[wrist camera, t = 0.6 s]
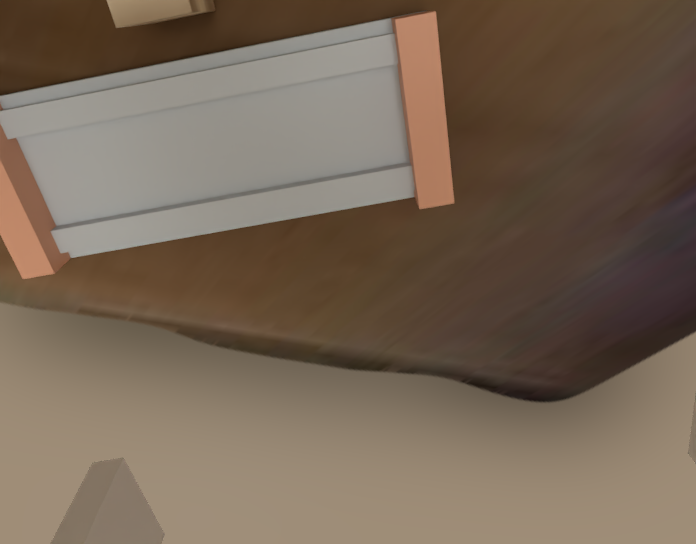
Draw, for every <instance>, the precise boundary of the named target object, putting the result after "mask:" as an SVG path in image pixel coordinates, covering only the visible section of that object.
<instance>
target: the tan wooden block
mask: <svg viewBox="0 0 696 544" xmlns="http://www.w3.org/2000/svg"><path fill="white" fill-rule="evenodd" d="M107 3H108V6H109V9H110V11H111V14H112V17H113V20H114V23H115V26H116V28H121V27H130V26H139V25H147V24H154V23H159V22H164V21H169V20H174V19H178V18H183V17H188V16H193V15H198V14H203V13H208V12H213V11H216V9H215V6H214V2H213V0H107Z"/></svg>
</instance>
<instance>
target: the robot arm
mask: <svg viewBox="0 0 696 544" xmlns="http://www.w3.org/2000/svg"><path fill="white" fill-rule="evenodd" d="M688 454H689V455H690V457H691V458H692V459H693V461H694V462H695V463H696V396H695V403H694V411H693V419H692V426H691V434H690V442H689V450H688ZM163 537H164V532H163V530H162V528H161V526H160V524H159V523H158V521H157V519H156V517H155V515H154V513H153V512H152V510H151V508H150V506H149V504H148V502H147V500H146V499H145V497H144V495H143V493H142V491H141V489H140V488H139V486H138V484H137V482H136V480H135V478H134V476H133V474H132V473H131V471H130V469H129V467H128V465H127V463H126V462H125V460H124V458H118V459H112V460H106V461H100V462H94V463H92V465H91V467H90V468H89V470H88V473H87V474H86V476H85V478H84V480H83V482H82V484H81V486H80V488H79V490H78V492H77V494H76V496H75V498H74V499H73V501H72V503H71V505H70V507H69V509H68V511H67V513H66V515H65V517H64V519H63V521H62V522H61V524H60V526H59V528H58V530H57V532H56V534H55V536H54V538H53V540H52V542H51V544H162V540H163Z"/></svg>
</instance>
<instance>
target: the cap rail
mask: <svg viewBox="0 0 696 544" xmlns="http://www.w3.org/2000/svg"><path fill="white" fill-rule="evenodd" d="M412 197H415V199H416V202H417V204H418V207H419V209H425V208H430V207H436V206H442V205H447V204H453V203H454V194H453V184H452V173H451V163H450V153H449V142H448V132H447V122H446V111H445V101H444V91H443V80H442V70H441V60H440V49H439V39H438V29H437V18H436V11H421V12H416V13H411V14H406V15H400V16H395V17H390V18H385V19H380V20H375V21H370V22H365V23H360V24H355V25H350V26H345V27H340V28H335V29H330V30H325V31H320V32H315V33H310V34H305V35H300V36H295V37H290V38H285V39H280V40H275V41H270V42H265V43H260V44H255V45H250V46H245V47H240V48H235V49H230V50H225V51H220V52H215V53H210V54H205V55H200V56H195V57H190V58H185V59H180V60H175V61H170V62H165V63H160V64H155V65H150V66H145V67H140V68H135V69H130V70H125V71H120V72H115V73H110V74H105V75H100V76H95V77H90V78H85V79H80V80H75V81H70V82H65V83H60V84H55V85H50V86H45V87H40V88H35V89H30V90H25V91H20V92H15V93H10V94H5V95H0V235H1V237H2V239H3V241H4V243H5V245H6V247H7V249H8V251H9V253H10V255H11V257H12V259H13V261H14V263H15V264H16V266H17V268H18V270H19V272H20V274H21V276H22V278H23V279H27V278H32V277H38V276H44V275H49V274H55V273H56V272H57V271H58V270H59V269H60V268H61V267H62V266H63V265H64V264H65V263H66V262H67V261H68V260H69V259H70V258H74V257H79V256H85V255H91V254H96V253H102V252H108V251H113V250H119V249H124V248H130V247H136V246H141V245H147V244H153V243H158V242H164V241H169V240H175V239H181V238H186V237H192V236H198V235H203V234H209V233H215V232H220V231H226V230H231V229H237V228H243V227H248V226H254V225H260V224H265V223H271V222H276V221H282V220H288V219H293V218H299V217H305V216H310V215H316V214H322V213H327V212H333V211H338V210H344V209H350V208H355V207H361V206H367V205H372V204H378V203H383V202H389V201H395V200H400V199H406V198H412Z"/></svg>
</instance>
